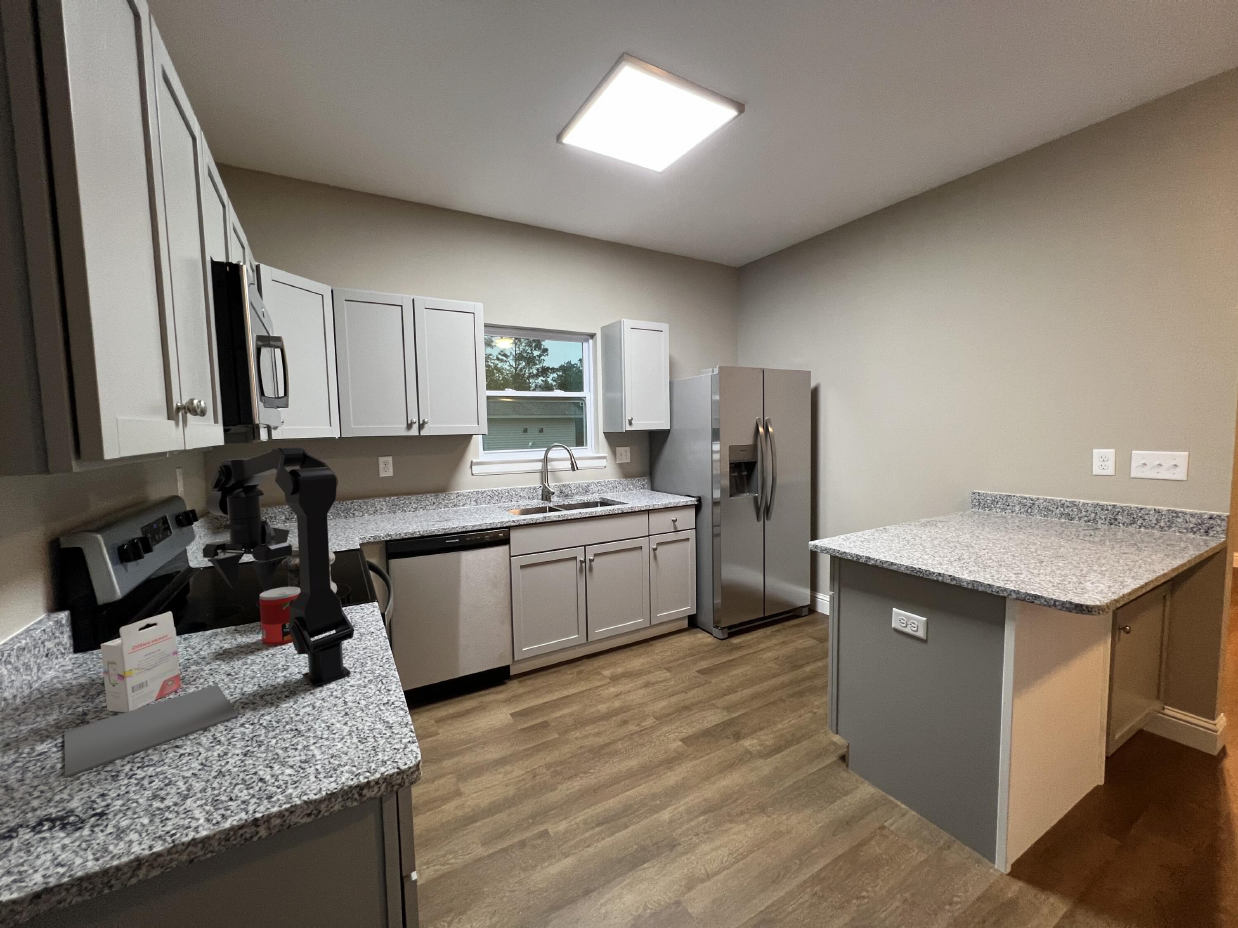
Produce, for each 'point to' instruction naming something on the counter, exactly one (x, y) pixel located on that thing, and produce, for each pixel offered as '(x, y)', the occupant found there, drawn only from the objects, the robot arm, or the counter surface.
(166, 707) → the mat
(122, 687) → the ink cartridge box
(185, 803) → the counter surface
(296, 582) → the apothecary jar
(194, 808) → the counter surface
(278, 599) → the canned food
